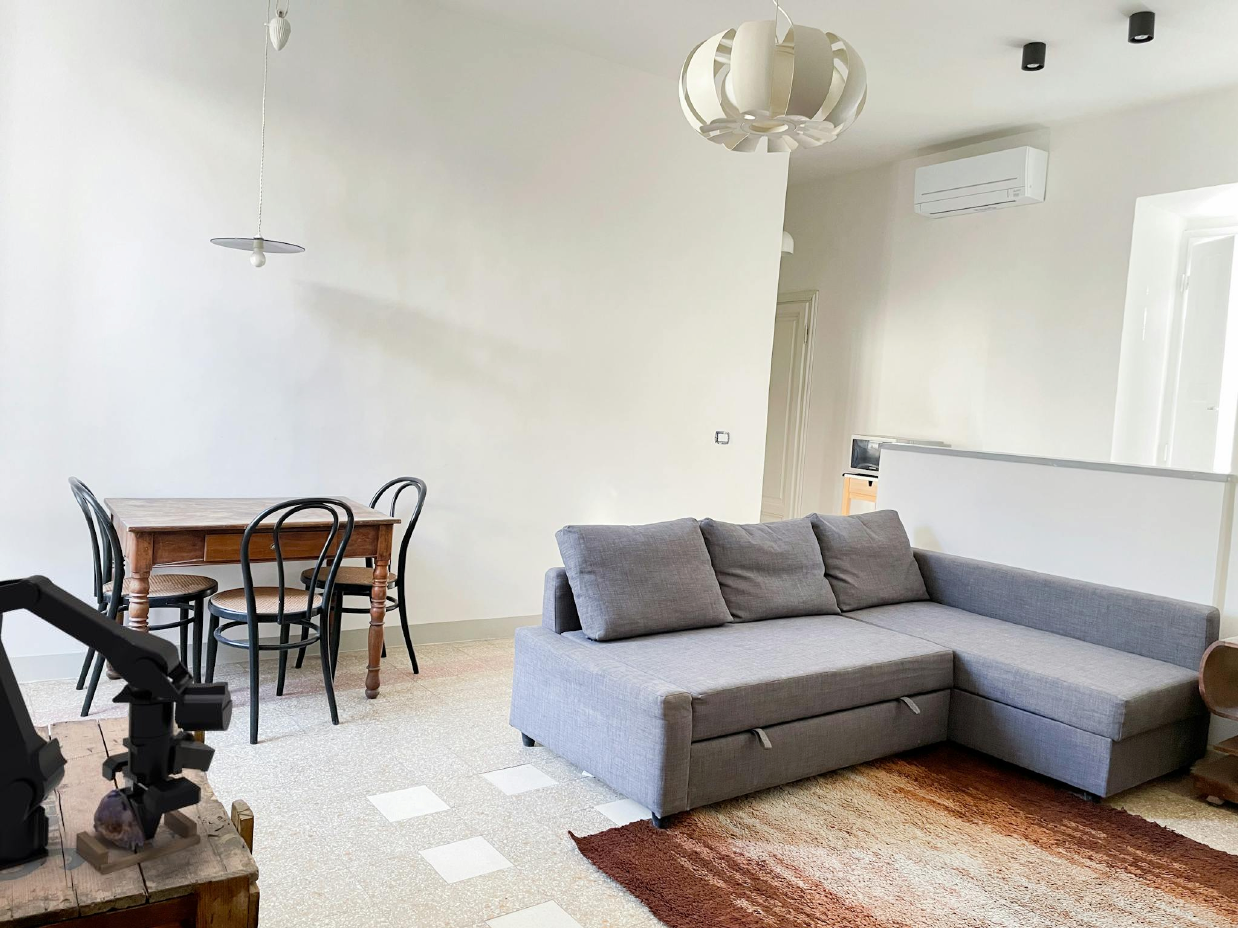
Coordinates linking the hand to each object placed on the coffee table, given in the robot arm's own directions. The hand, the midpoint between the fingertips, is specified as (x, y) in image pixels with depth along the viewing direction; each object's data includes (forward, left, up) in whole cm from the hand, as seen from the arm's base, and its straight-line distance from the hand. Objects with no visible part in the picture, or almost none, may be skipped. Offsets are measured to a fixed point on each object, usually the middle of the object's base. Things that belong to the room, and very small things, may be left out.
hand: (149, 838), depth 130 cm
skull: (0, +6, -2) cm, 7 cm away
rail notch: (0, +3, -2) cm, 4 cm away
